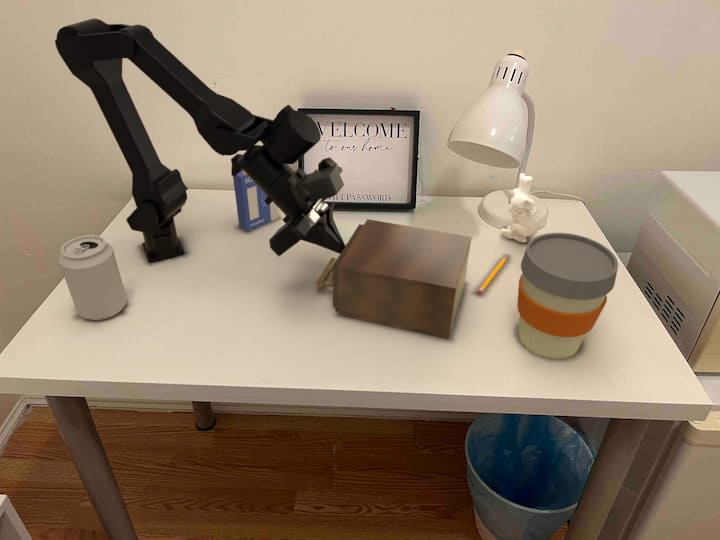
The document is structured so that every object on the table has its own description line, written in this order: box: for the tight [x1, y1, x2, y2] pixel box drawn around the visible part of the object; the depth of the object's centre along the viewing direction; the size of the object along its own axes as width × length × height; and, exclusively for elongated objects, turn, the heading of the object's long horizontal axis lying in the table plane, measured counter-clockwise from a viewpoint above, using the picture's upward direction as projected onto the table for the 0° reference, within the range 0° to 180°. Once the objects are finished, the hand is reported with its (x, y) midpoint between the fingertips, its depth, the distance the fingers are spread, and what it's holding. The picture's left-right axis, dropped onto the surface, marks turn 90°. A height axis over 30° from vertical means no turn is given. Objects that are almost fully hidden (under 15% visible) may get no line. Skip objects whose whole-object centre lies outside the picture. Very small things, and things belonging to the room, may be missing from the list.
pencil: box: [476, 256, 508, 296], centre depth 99 cm, size 1×13×1 cm, turn 148°
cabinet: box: [338, 218, 472, 340], centre depth 90 cm, size 18×15×10 cm
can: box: [58, 234, 128, 321], centre depth 86 cm, size 8×8×12 cm
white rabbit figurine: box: [500, 172, 541, 243], centre depth 106 cm, size 8×7×12 cm
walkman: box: [232, 170, 279, 232], centre depth 109 cm, size 8×3×12 cm, turn 134°
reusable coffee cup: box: [516, 232, 619, 360], centre depth 81 cm, size 13×13×15 cm
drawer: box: [315, 224, 364, 309], centre depth 91 cm, size 21×13×8 cm, turn 72°
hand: (344, 251), depth 91 cm, fingers closed
